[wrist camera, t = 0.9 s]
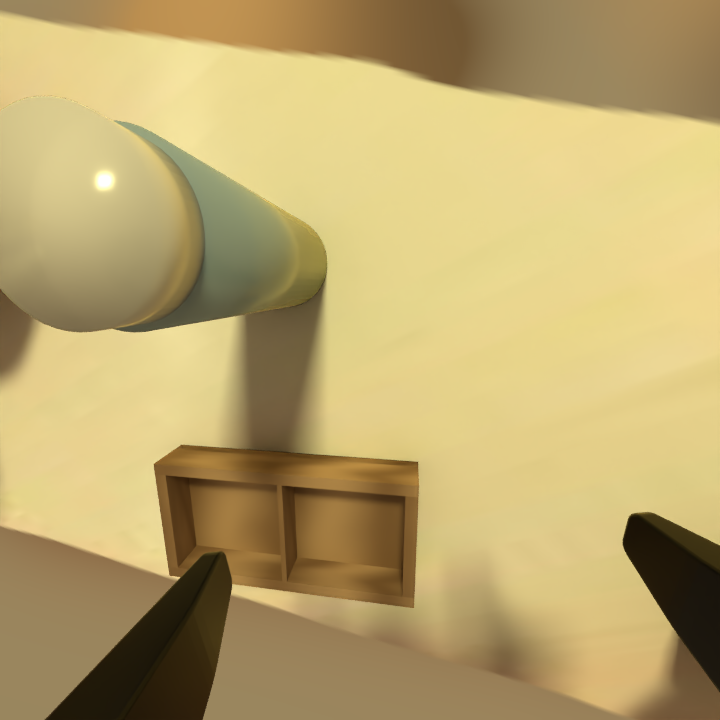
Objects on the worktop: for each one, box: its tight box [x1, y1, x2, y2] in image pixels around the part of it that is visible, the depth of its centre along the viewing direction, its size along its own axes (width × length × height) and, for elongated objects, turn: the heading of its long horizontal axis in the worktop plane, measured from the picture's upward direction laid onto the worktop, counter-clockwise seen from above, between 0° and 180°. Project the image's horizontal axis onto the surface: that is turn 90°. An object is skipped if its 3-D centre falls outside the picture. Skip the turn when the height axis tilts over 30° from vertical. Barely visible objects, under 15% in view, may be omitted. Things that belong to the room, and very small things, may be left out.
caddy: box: [154, 445, 419, 608], centre depth 22 cm, size 16×8×3 cm, turn 90°
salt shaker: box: [0, 96, 327, 332], centre depth 13 cm, size 5×5×13 cm
